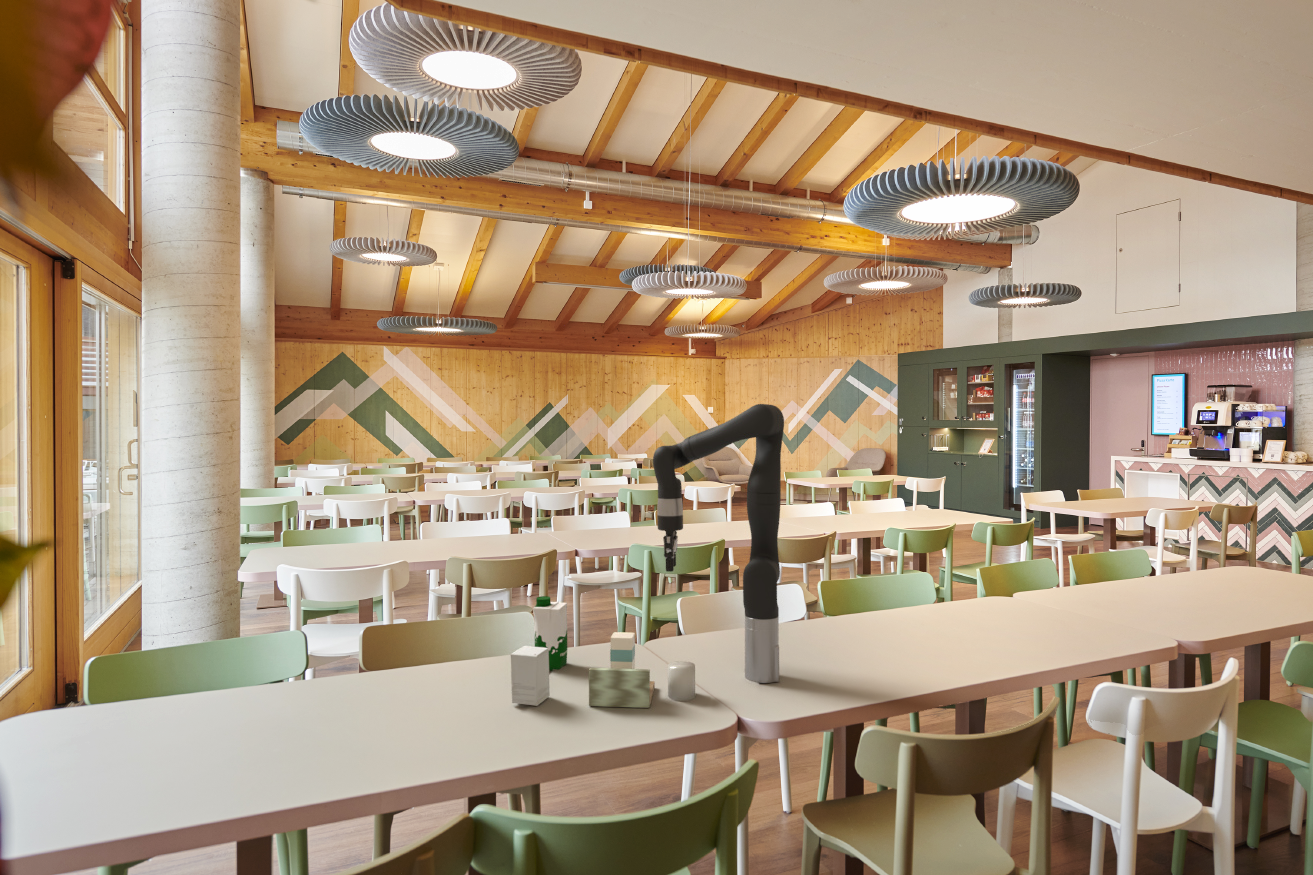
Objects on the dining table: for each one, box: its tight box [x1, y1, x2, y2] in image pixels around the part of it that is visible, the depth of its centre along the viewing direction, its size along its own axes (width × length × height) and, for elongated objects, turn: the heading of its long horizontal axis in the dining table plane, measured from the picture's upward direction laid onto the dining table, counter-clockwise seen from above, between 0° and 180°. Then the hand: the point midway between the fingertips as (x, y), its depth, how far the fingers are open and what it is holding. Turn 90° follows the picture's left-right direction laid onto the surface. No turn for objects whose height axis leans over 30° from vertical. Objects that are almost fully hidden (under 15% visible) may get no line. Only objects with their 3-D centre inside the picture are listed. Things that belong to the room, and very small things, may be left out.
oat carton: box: [609, 631, 636, 669], centre depth 199 cm, size 6×6×14 cm
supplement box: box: [510, 645, 551, 707], centre depth 196 cm, size 7×7×13 cm
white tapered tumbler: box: [667, 660, 696, 702], centre depth 199 cm, size 7×7×8 cm
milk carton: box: [532, 595, 568, 672], centre depth 223 cm, size 9×9×20 cm
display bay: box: [588, 667, 656, 709], centre depth 198 cm, size 15×14×9 cm
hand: (671, 568), depth 227 cm, fingers open, 8 cm apart
